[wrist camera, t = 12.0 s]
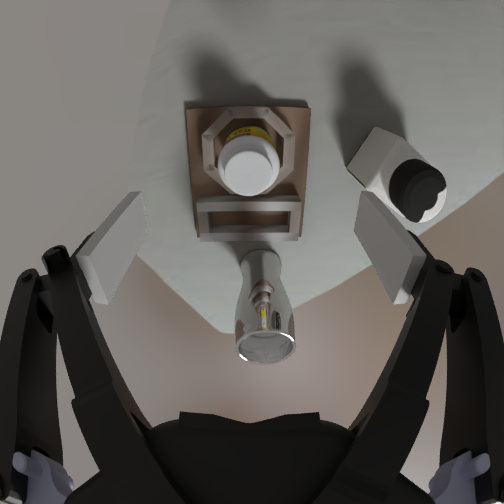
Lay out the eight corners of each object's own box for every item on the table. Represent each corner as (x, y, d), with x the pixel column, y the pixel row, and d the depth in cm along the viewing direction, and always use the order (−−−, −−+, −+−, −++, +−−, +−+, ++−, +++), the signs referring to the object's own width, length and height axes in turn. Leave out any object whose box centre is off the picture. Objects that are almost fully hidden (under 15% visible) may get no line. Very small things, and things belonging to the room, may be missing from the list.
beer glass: (271, 238, 38) (280, 320, 25) (292, 272, 41) (307, 353, 29) (228, 258, 40) (220, 342, 27) (252, 289, 43) (253, 371, 31)
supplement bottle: (251, 114, 28) (252, 126, 19) (282, 150, 30) (297, 178, 21) (214, 146, 30) (199, 172, 21) (246, 179, 32) (245, 217, 23)
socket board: (308, 107, 28) (314, 109, 25) (299, 233, 37) (303, 244, 35) (188, 108, 28) (182, 110, 25) (198, 233, 37) (195, 245, 35)
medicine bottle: (344, 168, 32) (384, 209, 22) (374, 124, 29) (427, 148, 19) (382, 195, 34) (425, 242, 24) (410, 156, 31) (463, 190, 21)
